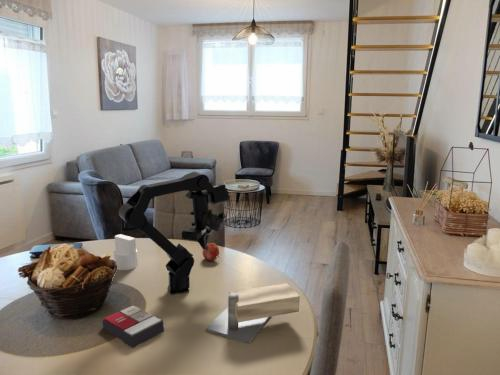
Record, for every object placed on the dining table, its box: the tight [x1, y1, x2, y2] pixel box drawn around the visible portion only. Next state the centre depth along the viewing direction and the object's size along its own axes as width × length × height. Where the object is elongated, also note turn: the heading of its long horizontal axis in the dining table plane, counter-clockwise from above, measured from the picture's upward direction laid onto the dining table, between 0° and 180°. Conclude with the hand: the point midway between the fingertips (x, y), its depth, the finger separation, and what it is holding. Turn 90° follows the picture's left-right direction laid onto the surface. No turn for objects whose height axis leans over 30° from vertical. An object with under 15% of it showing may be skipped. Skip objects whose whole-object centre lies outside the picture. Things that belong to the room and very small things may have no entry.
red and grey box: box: [102, 305, 165, 349], centre depth 120 cm, size 11×4×15 cm
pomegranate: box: [202, 242, 220, 262], centre depth 171 cm, size 7×7×10 cm
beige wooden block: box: [227, 282, 300, 330], centre depth 122 cm, size 9×20×10 cm, turn 110°
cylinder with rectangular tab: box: [113, 233, 139, 271], centre depth 163 cm, size 9×9×12 cm
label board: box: [205, 306, 271, 344], centre depth 129 cm, size 14×26×1 cm, turn 155°
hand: (204, 248), depth 148 cm, fingers closed
